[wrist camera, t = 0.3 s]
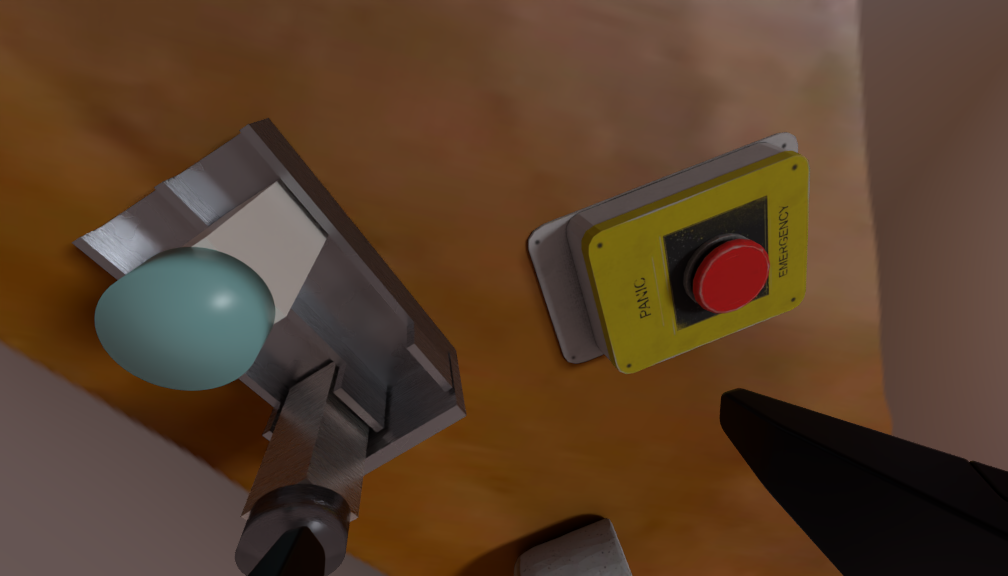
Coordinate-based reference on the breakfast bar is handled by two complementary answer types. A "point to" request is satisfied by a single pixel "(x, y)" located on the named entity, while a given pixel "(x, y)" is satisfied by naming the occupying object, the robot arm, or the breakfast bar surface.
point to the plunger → (212, 295)
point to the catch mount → (308, 345)
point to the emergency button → (679, 257)
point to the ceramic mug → (577, 554)
